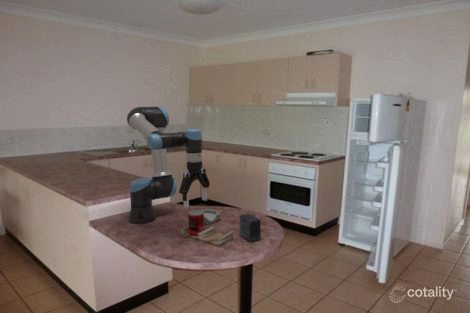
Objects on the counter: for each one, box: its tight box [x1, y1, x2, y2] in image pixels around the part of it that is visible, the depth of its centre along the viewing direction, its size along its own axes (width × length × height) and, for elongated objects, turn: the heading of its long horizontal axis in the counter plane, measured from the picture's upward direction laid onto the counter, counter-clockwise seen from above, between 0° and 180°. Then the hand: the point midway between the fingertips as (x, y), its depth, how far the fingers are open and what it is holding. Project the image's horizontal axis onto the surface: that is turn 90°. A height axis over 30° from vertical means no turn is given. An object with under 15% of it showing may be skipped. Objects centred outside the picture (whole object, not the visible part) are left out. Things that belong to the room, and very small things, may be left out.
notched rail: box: [180, 225, 234, 248], centre depth 162 cm, size 24×11×4 cm, turn 56°
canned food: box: [187, 209, 205, 236], centre depth 165 cm, size 8×8×11 cm
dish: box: [201, 208, 221, 225], centre depth 186 cm, size 14×14×5 cm
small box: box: [239, 213, 261, 243], centre depth 161 cm, size 11×6×10 cm, turn 28°
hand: (195, 203), depth 163 cm, fingers open, 13 cm apart
